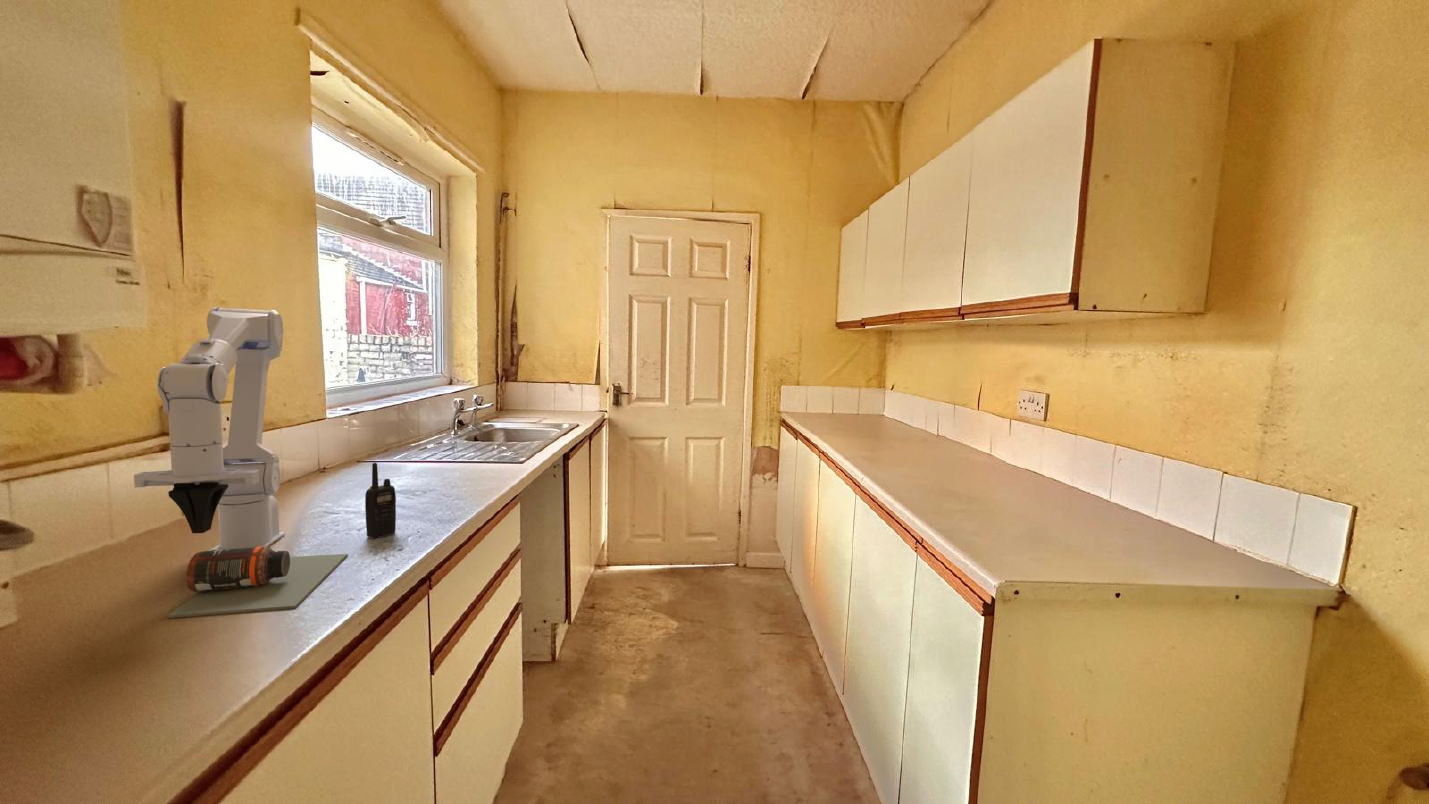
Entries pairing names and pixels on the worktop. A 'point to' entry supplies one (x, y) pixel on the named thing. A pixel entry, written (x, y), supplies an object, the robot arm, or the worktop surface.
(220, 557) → the supplement bottle
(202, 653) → the worktop surface
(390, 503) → the two-way radio
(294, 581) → the mat
